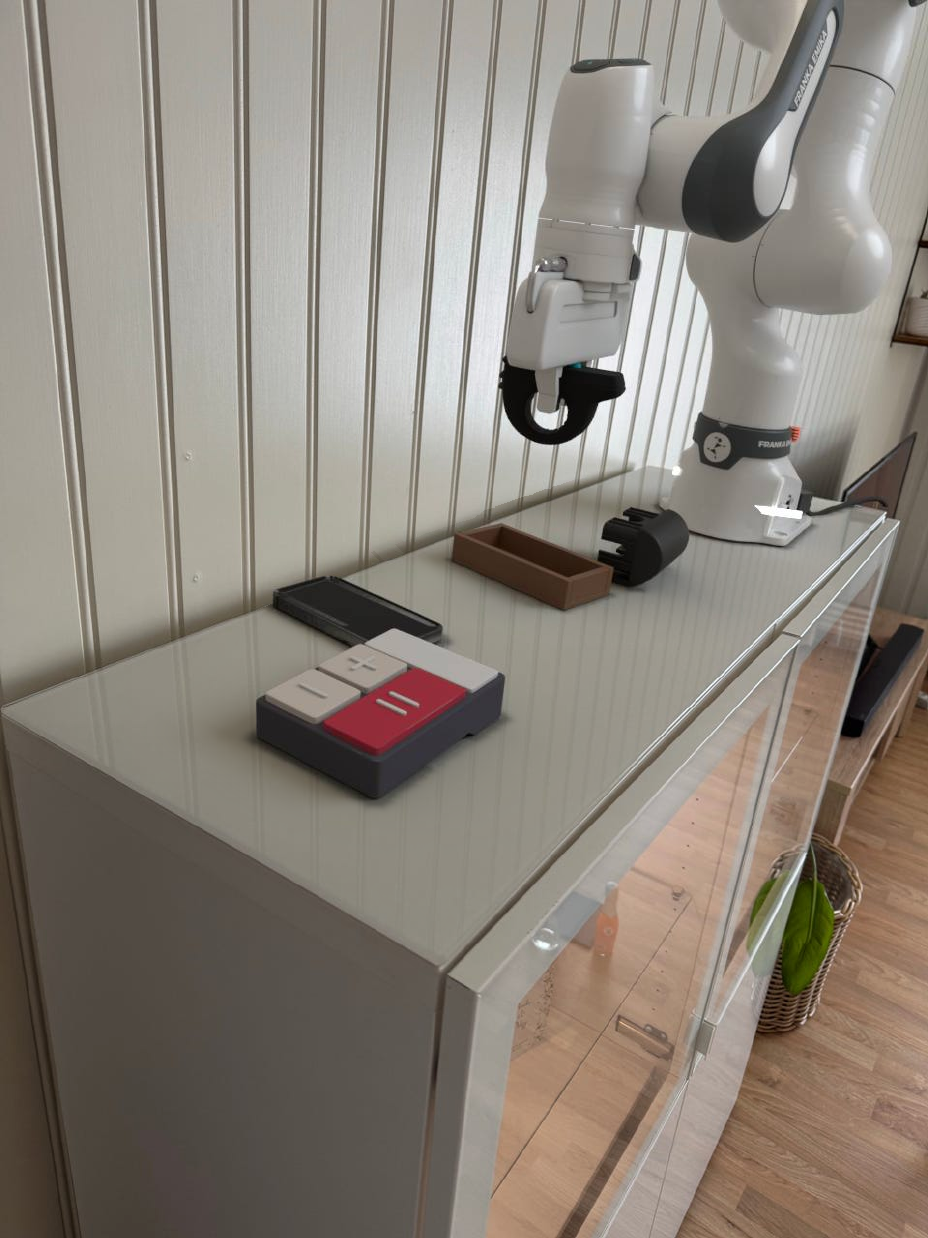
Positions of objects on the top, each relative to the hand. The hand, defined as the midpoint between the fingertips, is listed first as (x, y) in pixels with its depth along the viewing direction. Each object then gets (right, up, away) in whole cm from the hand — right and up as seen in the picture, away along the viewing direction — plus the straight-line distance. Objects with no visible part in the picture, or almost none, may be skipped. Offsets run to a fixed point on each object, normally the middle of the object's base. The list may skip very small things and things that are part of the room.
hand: (558, 408), depth 91 cm
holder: (-2, -16, +7) cm, 18 cm away
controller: (-1, -3, +2) cm, 4 cm away
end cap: (+10, -16, +12) cm, 22 cm away
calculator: (-15, -29, -24) cm, 40 cm away
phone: (-19, -21, -8) cm, 29 cm away
